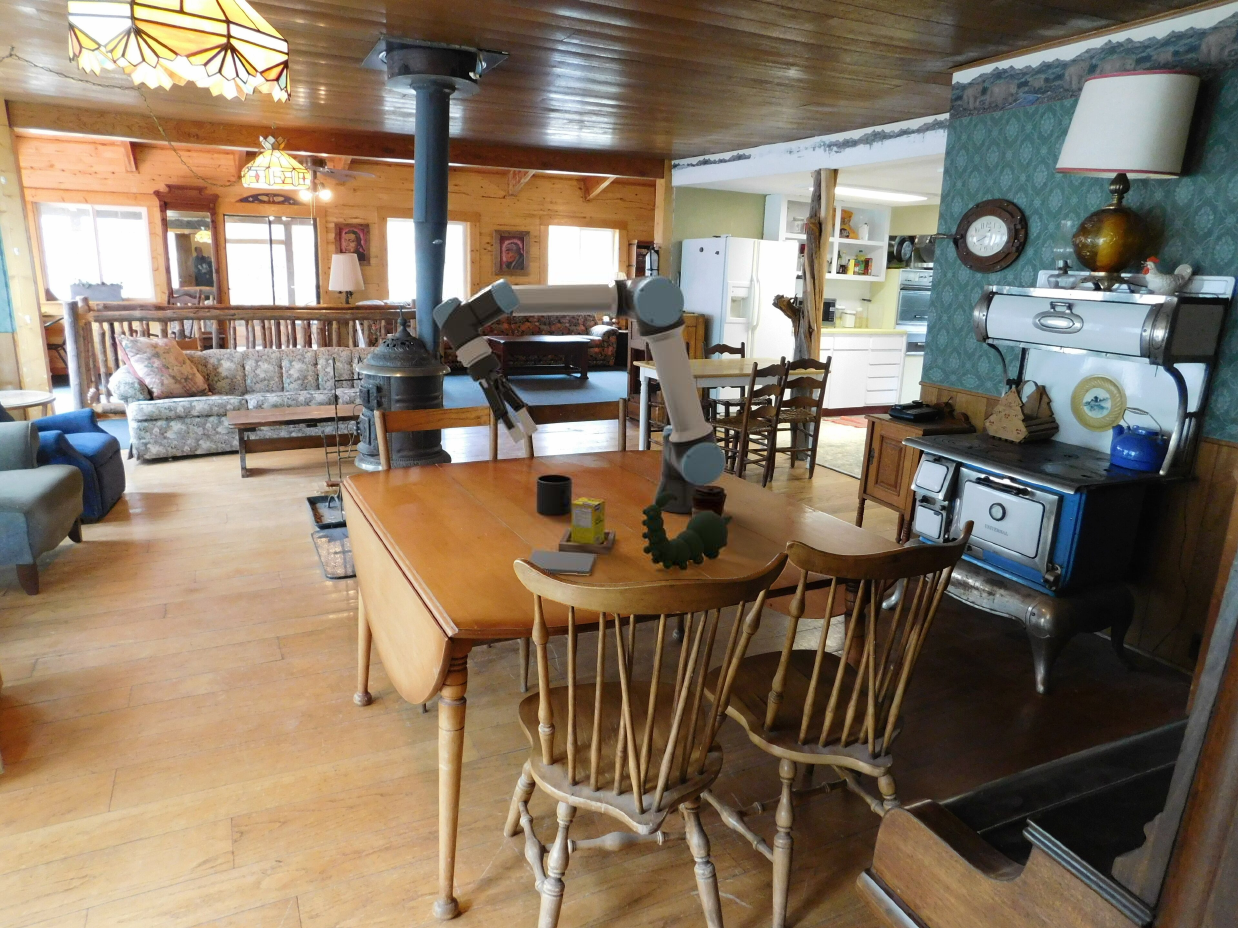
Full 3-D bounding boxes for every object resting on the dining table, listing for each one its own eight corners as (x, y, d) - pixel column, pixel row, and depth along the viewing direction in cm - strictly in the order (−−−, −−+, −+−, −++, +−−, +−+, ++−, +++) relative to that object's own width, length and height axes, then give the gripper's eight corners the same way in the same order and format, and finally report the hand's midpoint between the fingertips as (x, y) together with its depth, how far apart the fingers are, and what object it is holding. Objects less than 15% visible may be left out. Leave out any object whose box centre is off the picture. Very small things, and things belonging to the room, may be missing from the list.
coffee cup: (713, 546, 189) (717, 494, 186) (682, 540, 193) (685, 488, 190) (728, 537, 196) (732, 487, 193) (698, 531, 200) (701, 481, 197)
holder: (615, 538, 193) (615, 530, 192) (609, 555, 181) (610, 546, 181) (567, 535, 194) (567, 527, 193) (558, 551, 182) (558, 543, 182)
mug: (553, 520, 206) (554, 487, 203) (530, 509, 215) (530, 477, 213) (583, 515, 211) (584, 482, 209) (559, 504, 220) (559, 472, 218)
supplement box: (604, 543, 189) (605, 499, 187) (593, 550, 184) (594, 505, 181) (582, 539, 191) (583, 496, 189) (570, 546, 186) (571, 502, 184)
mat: (595, 558, 179) (595, 553, 179) (588, 575, 168) (588, 571, 168) (534, 554, 180) (534, 550, 180) (524, 571, 170) (524, 567, 169)
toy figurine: (663, 587, 168) (746, 555, 182) (660, 503, 162) (746, 477, 176) (635, 573, 175) (717, 544, 189) (632, 492, 170) (717, 468, 184)
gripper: (481, 366, 200) (526, 437, 202) (449, 371, 175) (501, 452, 177) (505, 350, 198) (550, 422, 200) (476, 353, 174) (528, 435, 176)
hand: (527, 436), depth 189 cm, fingers open, 13 cm apart
